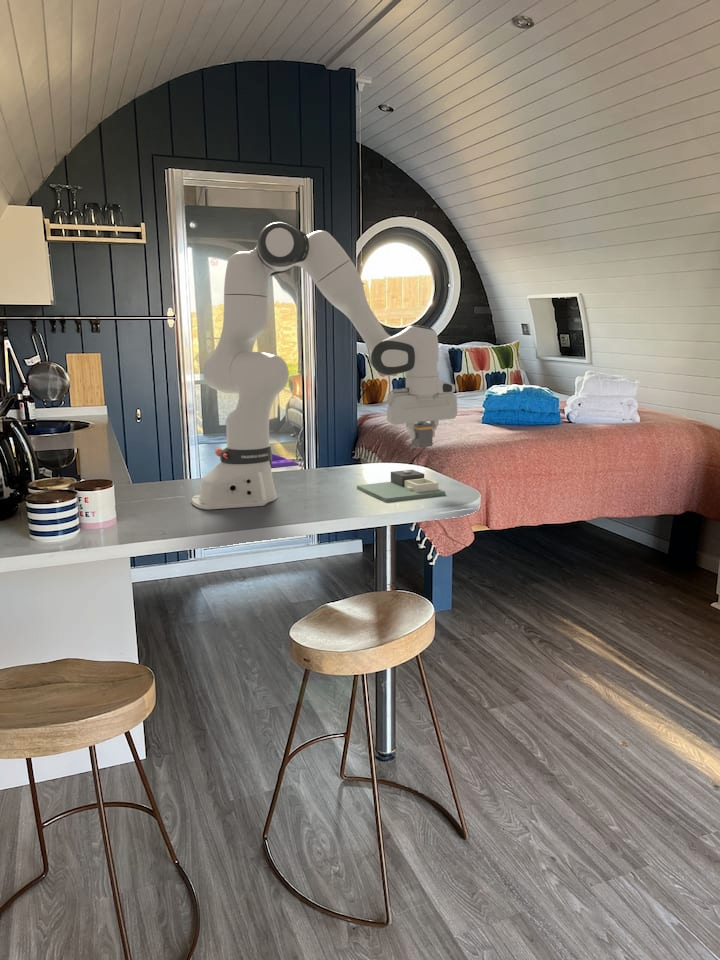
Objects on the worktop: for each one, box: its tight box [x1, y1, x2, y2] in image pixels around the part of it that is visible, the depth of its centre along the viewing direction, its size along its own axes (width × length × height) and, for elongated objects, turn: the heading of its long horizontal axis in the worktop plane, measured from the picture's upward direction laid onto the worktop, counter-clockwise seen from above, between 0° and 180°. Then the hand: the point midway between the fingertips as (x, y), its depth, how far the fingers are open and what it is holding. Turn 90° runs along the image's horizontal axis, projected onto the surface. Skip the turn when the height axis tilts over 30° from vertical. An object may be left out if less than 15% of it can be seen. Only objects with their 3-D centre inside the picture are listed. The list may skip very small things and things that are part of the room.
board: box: [356, 481, 446, 503], centre depth 205 cm, size 18×18×1 cm
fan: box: [390, 469, 425, 487], centre depth 211 cm, size 7×7×3 cm
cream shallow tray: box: [405, 477, 439, 492], centre depth 204 cm, size 8×7×2 cm
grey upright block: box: [411, 421, 433, 448], centre depth 202 cm, size 4×4×7 cm
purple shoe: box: [271, 453, 300, 469], centre depth 242 cm, size 12×7×7 cm, turn 116°
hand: (422, 438), depth 202 cm, fingers closed on grey upright block, 4 cm apart
